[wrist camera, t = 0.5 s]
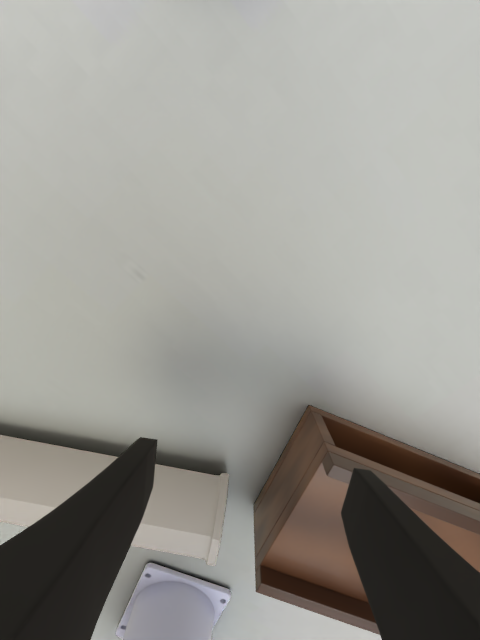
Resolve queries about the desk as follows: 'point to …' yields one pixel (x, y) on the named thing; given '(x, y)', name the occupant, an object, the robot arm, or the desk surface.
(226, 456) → the desk surface
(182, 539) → the tube
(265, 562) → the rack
